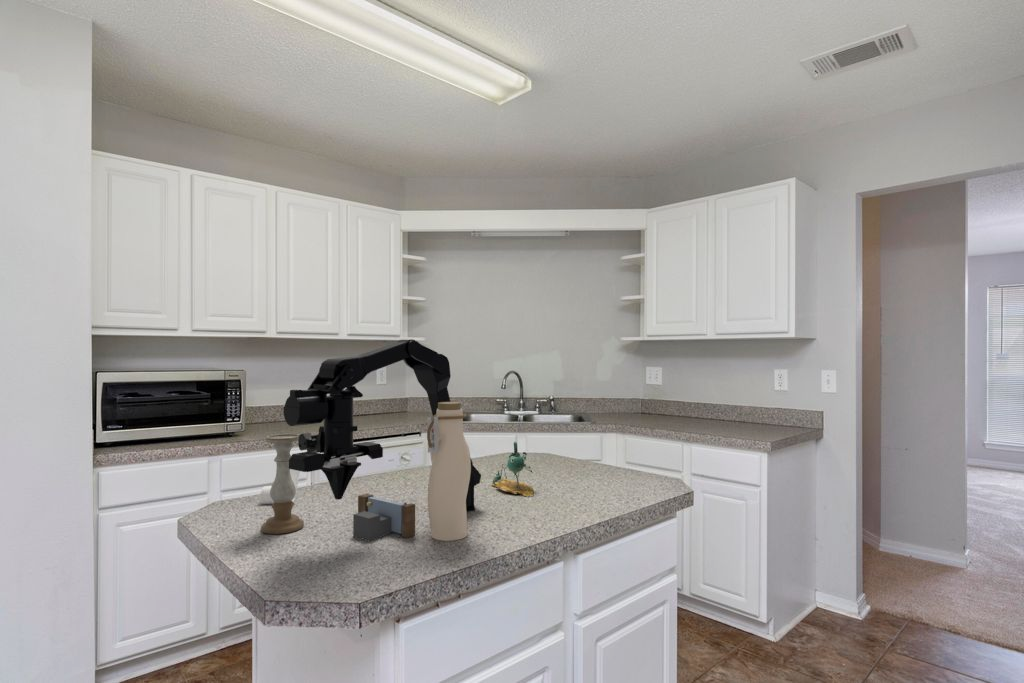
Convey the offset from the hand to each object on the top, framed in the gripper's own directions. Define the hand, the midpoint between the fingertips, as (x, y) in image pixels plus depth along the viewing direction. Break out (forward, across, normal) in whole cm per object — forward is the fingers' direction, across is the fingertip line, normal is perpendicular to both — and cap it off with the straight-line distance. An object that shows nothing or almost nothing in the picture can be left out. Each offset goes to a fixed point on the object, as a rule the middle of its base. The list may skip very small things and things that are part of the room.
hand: (338, 499), depth 111 cm
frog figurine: (+10, -58, +2) cm, 59 cm away
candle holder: (+10, 0, -19) cm, 22 cm away
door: (+9, -12, 0) cm, 15 cm away
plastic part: (+10, -13, -42) cm, 45 cm away
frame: (+9, -12, 0) cm, 16 cm away
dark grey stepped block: (+10, -9, 0) cm, 13 cm away
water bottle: (+10, -17, +14) cm, 24 cm away
